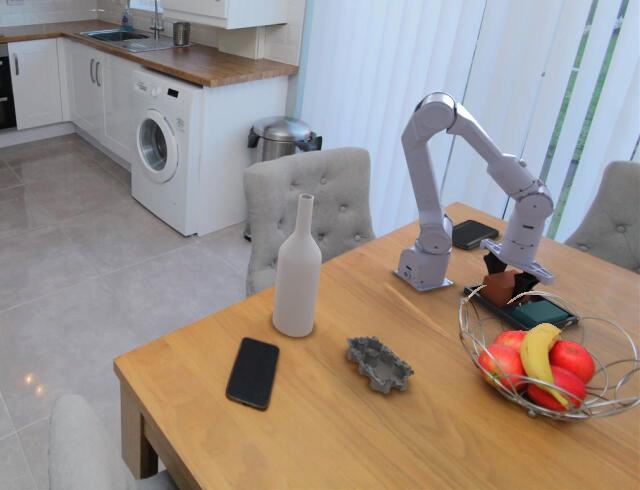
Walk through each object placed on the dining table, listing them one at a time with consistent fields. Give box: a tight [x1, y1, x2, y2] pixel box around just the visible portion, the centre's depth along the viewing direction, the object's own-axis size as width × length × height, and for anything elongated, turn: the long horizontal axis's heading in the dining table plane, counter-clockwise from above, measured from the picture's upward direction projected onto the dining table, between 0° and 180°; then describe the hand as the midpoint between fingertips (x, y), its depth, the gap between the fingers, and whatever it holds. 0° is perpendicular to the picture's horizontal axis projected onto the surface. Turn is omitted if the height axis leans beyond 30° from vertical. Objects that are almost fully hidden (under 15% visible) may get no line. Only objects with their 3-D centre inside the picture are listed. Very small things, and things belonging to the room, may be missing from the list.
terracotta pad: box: [480, 269, 534, 307], centre depth 104 cm, size 8×5×5 cm, turn 104°
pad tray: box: [463, 282, 581, 331], centre depth 102 cm, size 13×14×2 cm
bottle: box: [272, 193, 323, 338], centre depth 95 cm, size 8×8×30 cm
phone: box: [452, 219, 500, 251], centre depth 129 cm, size 8×1×15 cm
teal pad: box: [512, 300, 568, 328], centre depth 98 cm, size 8×4×2 cm, turn 104°
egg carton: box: [346, 335, 415, 395], centre depth 88 cm, size 11×8×4 cm
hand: (505, 292), depth 105 cm, fingers closed on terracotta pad, 5 cm apart
